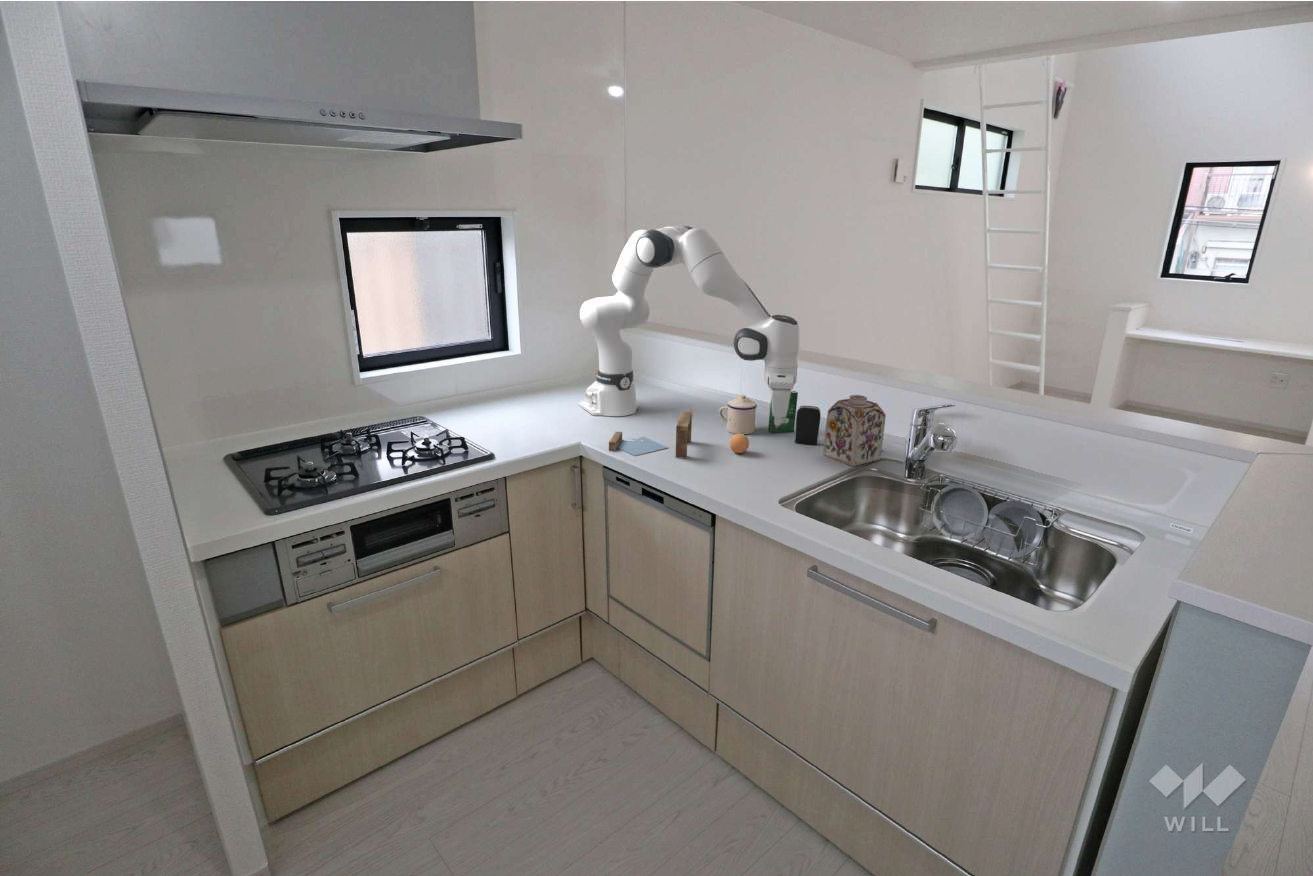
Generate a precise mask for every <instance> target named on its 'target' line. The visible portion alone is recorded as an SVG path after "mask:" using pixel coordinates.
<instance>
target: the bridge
mask: <svg viewBox="0 0 1313 876" xmlns="http://www.w3.org/2000/svg"><path fill="white" fill-rule="evenodd" d="M692 421H693V411H684V410H682V411H681V413H680V415H679V418H678V420H677V424H676V425H675V427H676V429H675V432H676V433H675V458H676V457H683V458H682V459H686V458H687V456H688V443H692V425H693V424H692Z"/></svg>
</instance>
